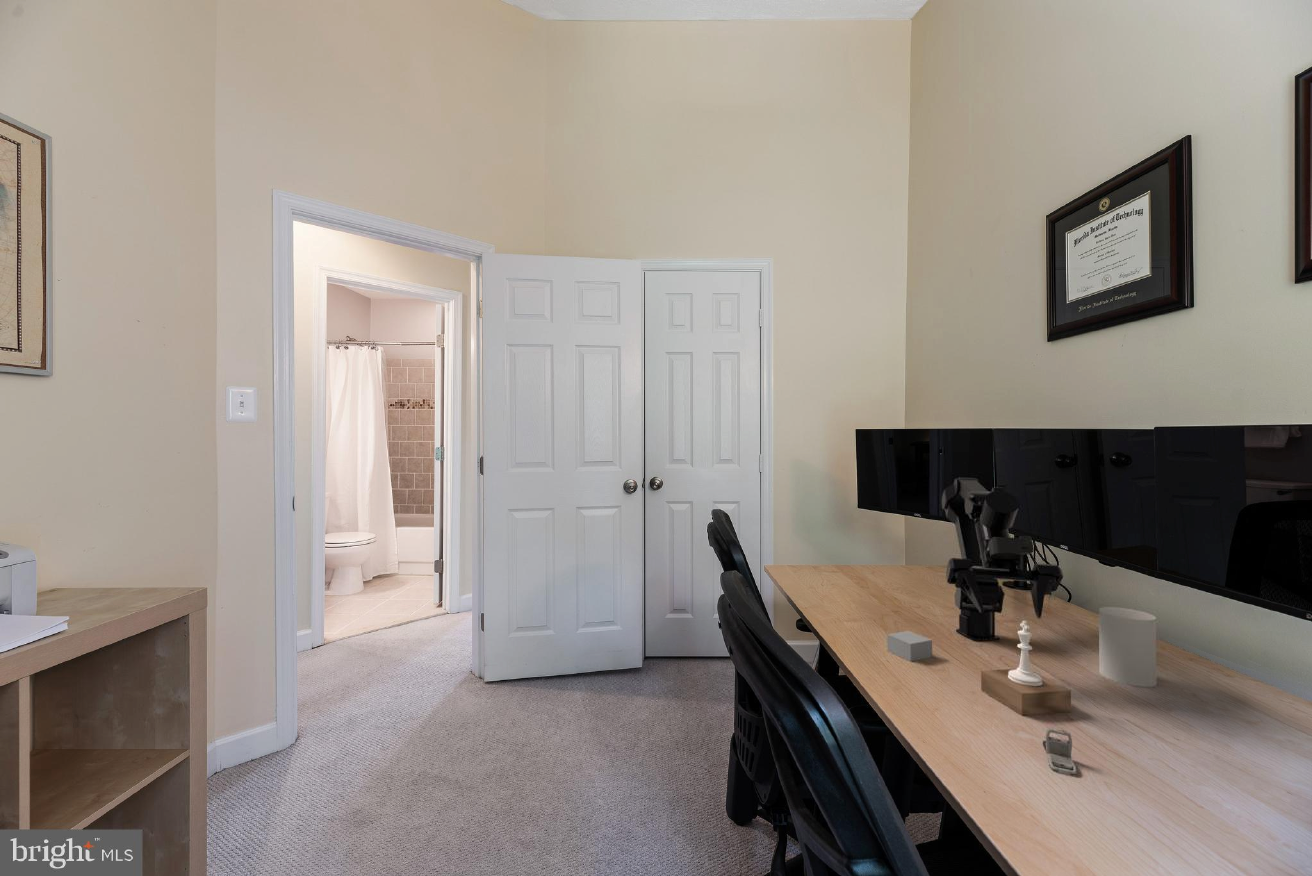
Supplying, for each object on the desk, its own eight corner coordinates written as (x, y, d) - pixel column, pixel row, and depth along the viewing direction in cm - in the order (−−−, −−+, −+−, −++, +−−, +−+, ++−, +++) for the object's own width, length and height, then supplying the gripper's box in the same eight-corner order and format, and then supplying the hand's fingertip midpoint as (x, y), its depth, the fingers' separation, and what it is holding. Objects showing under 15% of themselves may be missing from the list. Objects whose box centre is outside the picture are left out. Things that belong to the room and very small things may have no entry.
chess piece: (1029, 673, 96) (1029, 616, 96) (1049, 686, 91) (1049, 626, 91) (1001, 673, 96) (1001, 616, 96) (1019, 686, 91) (1019, 625, 91)
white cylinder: (1146, 673, 105) (1145, 610, 105) (1164, 690, 98) (1163, 622, 98) (1093, 665, 109) (1093, 605, 109) (1107, 681, 101) (1106, 616, 101)
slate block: (908, 647, 118) (908, 630, 118) (932, 657, 113) (932, 639, 113) (887, 651, 116) (887, 634, 116) (910, 661, 110) (910, 644, 110)
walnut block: (1026, 687, 99) (1026, 668, 99) (1071, 711, 90) (1071, 690, 90) (981, 690, 97) (981, 670, 97) (1021, 715, 88) (1021, 693, 89)
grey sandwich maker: (1078, 780, 72) (1078, 747, 72) (1050, 773, 73) (1050, 741, 73) (1066, 748, 79) (1066, 719, 80) (1041, 743, 81) (1041, 714, 81)
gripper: (948, 517, 109) (959, 587, 99) (1059, 522, 103) (1083, 597, 93) (942, 549, 117) (951, 617, 106) (1045, 555, 111) (1065, 628, 100)
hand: (1010, 614), depth 101 cm, fingers open, 9 cm apart
